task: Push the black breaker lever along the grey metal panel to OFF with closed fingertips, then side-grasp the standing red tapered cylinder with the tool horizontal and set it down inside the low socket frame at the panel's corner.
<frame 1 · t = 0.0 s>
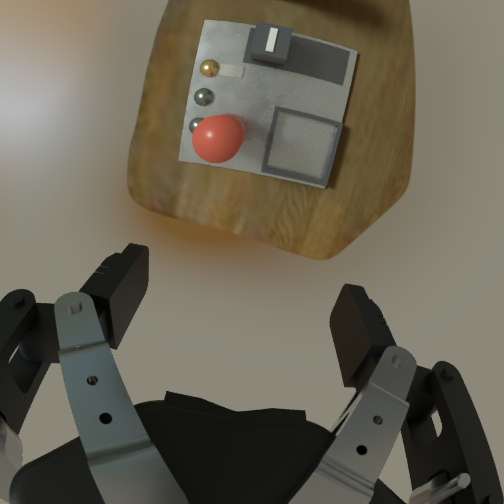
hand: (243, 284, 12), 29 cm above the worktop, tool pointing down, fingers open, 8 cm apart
breaker: (271, 44, 28), point 3 cm above the worktop, slide at 0.0 cm
red tapered cylinder: (228, 130, 35), point 1 cm above the worktop, touching panel
panel: (267, 99, 34), on the worktop
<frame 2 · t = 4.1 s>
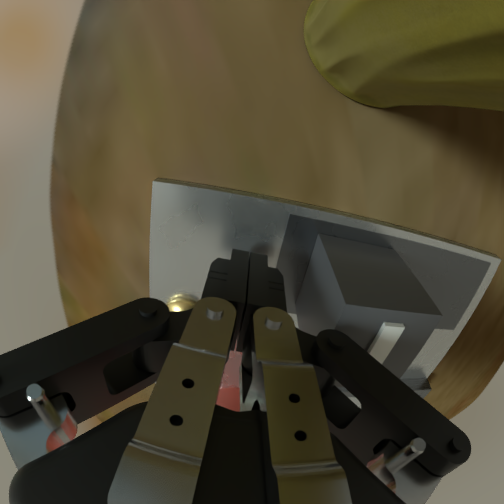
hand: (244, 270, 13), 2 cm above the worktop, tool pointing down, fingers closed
breaker: (359, 312, 11), point 3 cm above the worktop, slide at 0.4 cm, touching gripper
vase: (371, 43, 9), on the worktop
red tapered cylinder: (237, 404, 19), point 1 cm above the worktop, touching panel
panel: (311, 363, 18), on the worktop
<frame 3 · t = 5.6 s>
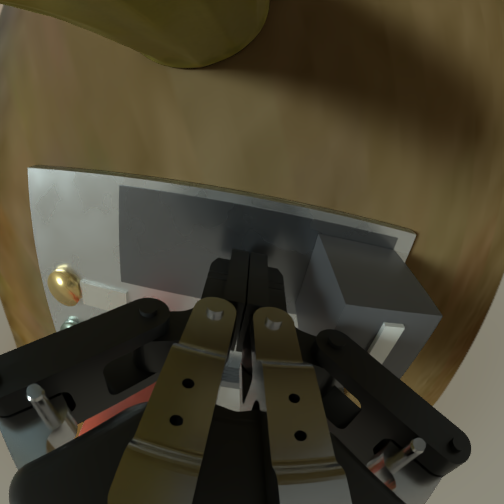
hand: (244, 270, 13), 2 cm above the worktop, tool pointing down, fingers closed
breaker: (359, 312, 11), point 3 cm above the worktop, slide at 8.1 cm, touching gripper
vase: (196, 8, 9), on the worktop
red tapered cylinder: (134, 384, 19), point 1 cm above the worktop, touching panel
panel: (191, 346, 17), on the worktop
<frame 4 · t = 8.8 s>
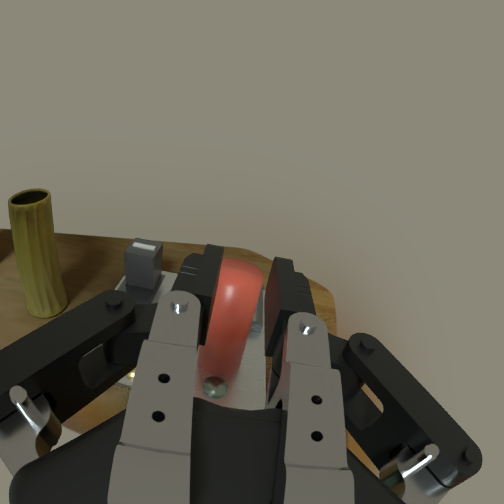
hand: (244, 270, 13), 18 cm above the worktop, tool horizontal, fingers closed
breaker: (143, 262, 37), point 3 cm above the worktop, slide at 8.0 cm
vase: (47, 304, 30), on the worktop
red tapered cylinder: (219, 358, 29), point 1 cm above the worktop, touching panel
panel: (180, 328, 33), on the worktop
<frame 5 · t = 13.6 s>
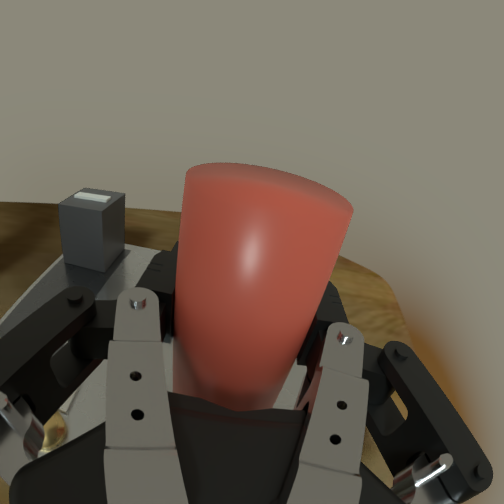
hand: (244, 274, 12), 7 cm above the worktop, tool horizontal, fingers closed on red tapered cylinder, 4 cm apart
breaker: (93, 226, 21), point 3 cm above the worktop, slide at 8.0 cm
red tapered cylinder: (219, 408, 13), point 1 cm above the worktop, touching gripper, panel
panel: (144, 341, 16), on the worktop
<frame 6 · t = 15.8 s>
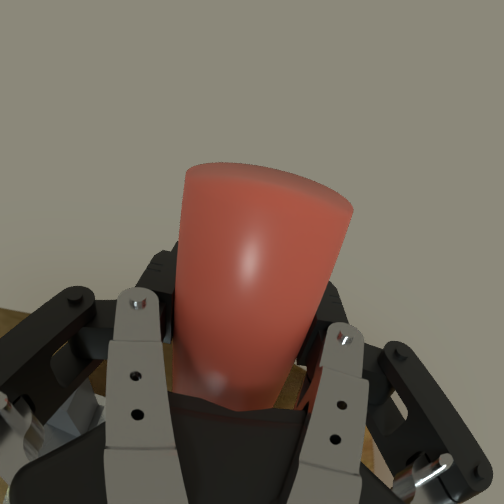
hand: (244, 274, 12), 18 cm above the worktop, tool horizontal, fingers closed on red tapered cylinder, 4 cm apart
breaker: (63, 398, 17), point 3 cm above the worktop, slide at 8.0 cm
red tapered cylinder: (219, 408, 13), point 11 cm above the worktop, touching gripper
when the fingers open (8 cm above the worktop, at t = 17.9 s): red tapered cylinder stays where it is, resting on panel.
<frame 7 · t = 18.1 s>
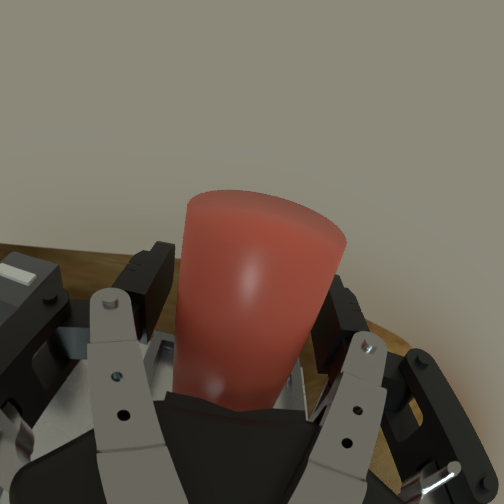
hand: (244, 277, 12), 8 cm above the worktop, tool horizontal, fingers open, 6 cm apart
breaker: (24, 309, 13), point 3 cm above the worktop, slide at 8.0 cm
red tapered cylinder: (216, 418, 13), point 1 cm above the worktop, touching panel
panel: (98, 487, 8), on the worktop
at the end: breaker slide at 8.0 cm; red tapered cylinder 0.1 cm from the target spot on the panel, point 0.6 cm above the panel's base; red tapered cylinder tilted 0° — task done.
